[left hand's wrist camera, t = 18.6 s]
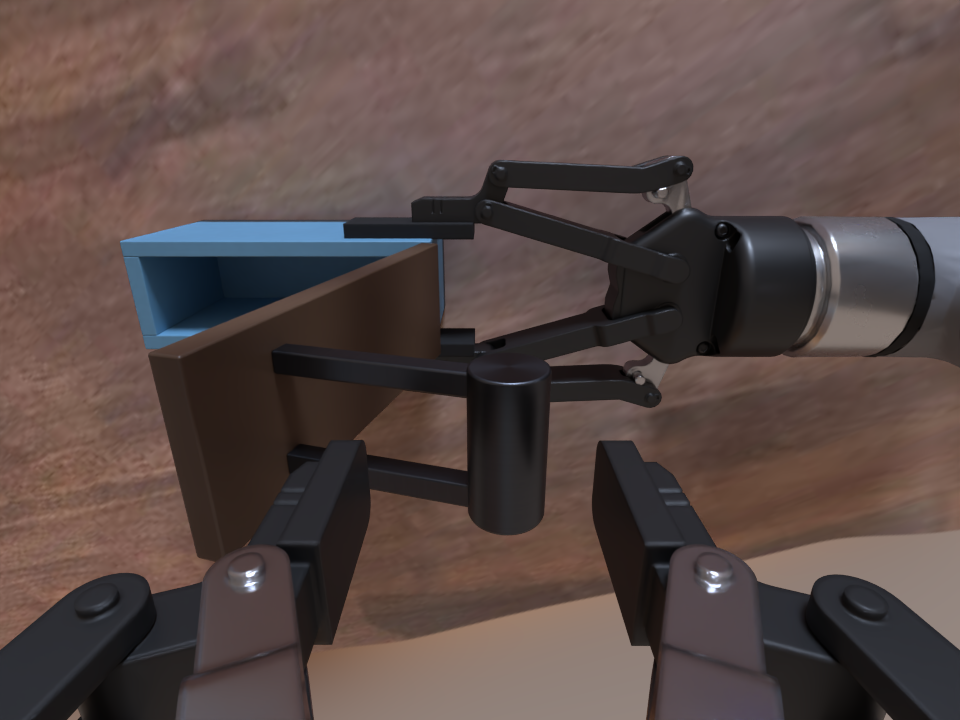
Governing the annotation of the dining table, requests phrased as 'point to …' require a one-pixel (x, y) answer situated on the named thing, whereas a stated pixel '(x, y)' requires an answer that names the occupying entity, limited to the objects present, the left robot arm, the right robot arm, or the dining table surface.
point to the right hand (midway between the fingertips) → (356, 287)
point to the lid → (345, 402)
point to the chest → (240, 269)
